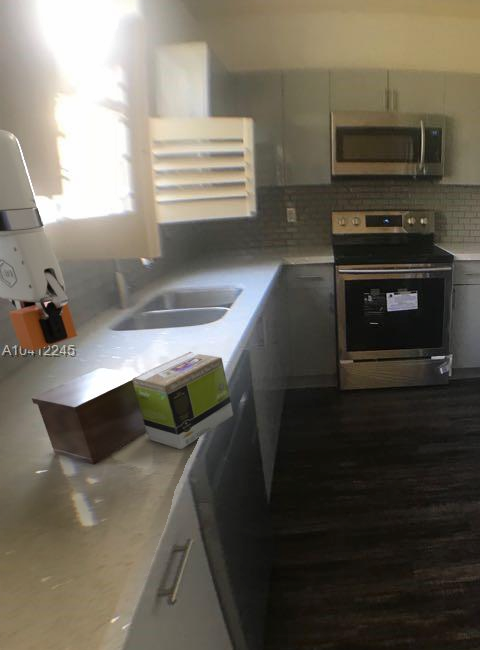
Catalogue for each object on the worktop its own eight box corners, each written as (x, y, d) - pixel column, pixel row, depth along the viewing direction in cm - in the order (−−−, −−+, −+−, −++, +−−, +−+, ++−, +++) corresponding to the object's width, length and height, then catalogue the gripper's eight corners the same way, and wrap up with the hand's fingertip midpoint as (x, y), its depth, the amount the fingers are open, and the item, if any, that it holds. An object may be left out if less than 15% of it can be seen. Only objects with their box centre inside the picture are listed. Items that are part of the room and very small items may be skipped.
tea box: (202, 408, 108) (190, 349, 102) (234, 416, 104) (224, 356, 98) (146, 440, 95) (130, 376, 90) (180, 451, 91) (165, 384, 86)
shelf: (51, 454, 91) (31, 397, 87) (115, 419, 104) (101, 367, 99) (93, 466, 87) (74, 407, 83) (154, 427, 100) (141, 374, 95)
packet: (21, 348, 72) (8, 311, 69) (63, 334, 78) (53, 300, 75) (34, 350, 71) (22, 313, 68) (77, 336, 77) (66, 301, 74)
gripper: (-54, 224, 67) (-9, 342, 73) (21, 226, 61) (61, 353, 68) (2, 219, 73) (38, 328, 80) (74, 220, 68) (106, 336, 74)
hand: (48, 338), depth 74 cm, fingers closed on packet, 3 cm apart
